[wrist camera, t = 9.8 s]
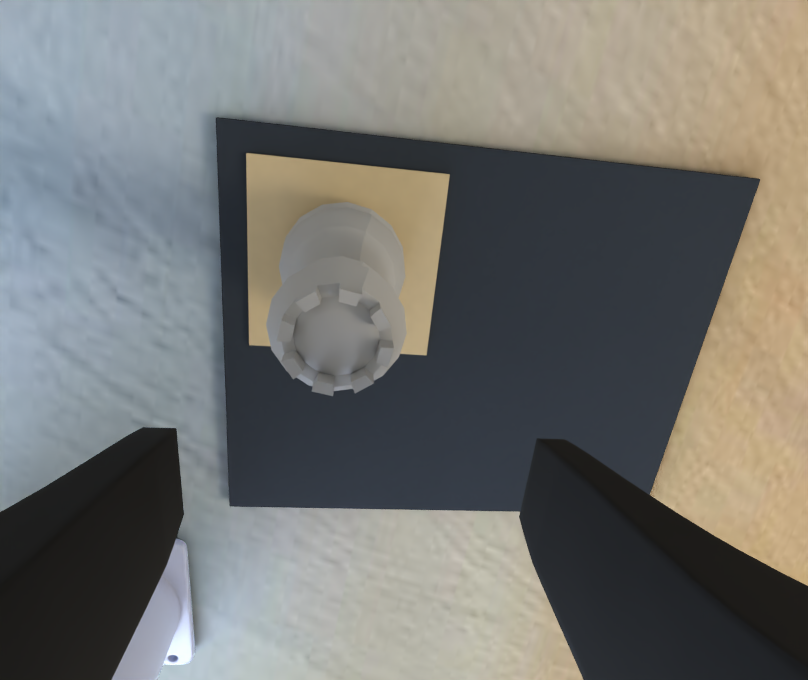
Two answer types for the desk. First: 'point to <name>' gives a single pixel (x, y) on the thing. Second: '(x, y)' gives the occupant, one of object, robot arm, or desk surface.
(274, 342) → the rook chess piece
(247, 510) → the desk surface
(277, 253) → the desk pad
